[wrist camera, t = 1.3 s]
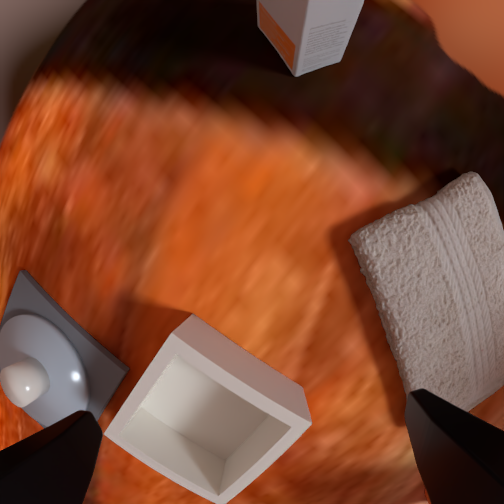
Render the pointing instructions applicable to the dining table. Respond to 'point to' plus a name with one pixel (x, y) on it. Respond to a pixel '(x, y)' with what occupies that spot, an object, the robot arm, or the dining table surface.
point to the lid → (42, 369)
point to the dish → (209, 413)
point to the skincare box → (308, 30)
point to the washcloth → (441, 290)
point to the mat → (91, 352)
